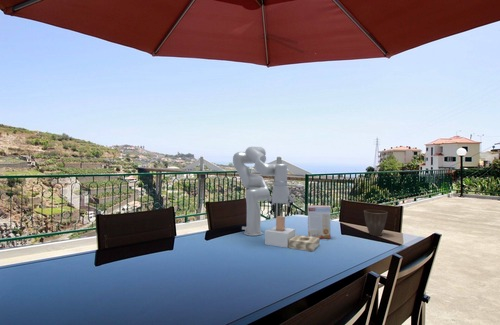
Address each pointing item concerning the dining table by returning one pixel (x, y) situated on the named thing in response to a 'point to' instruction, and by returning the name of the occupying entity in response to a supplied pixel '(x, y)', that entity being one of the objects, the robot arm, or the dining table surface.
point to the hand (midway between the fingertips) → (281, 212)
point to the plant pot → (375, 221)
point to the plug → (280, 223)
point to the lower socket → (304, 242)
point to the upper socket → (279, 237)
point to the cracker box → (319, 221)
